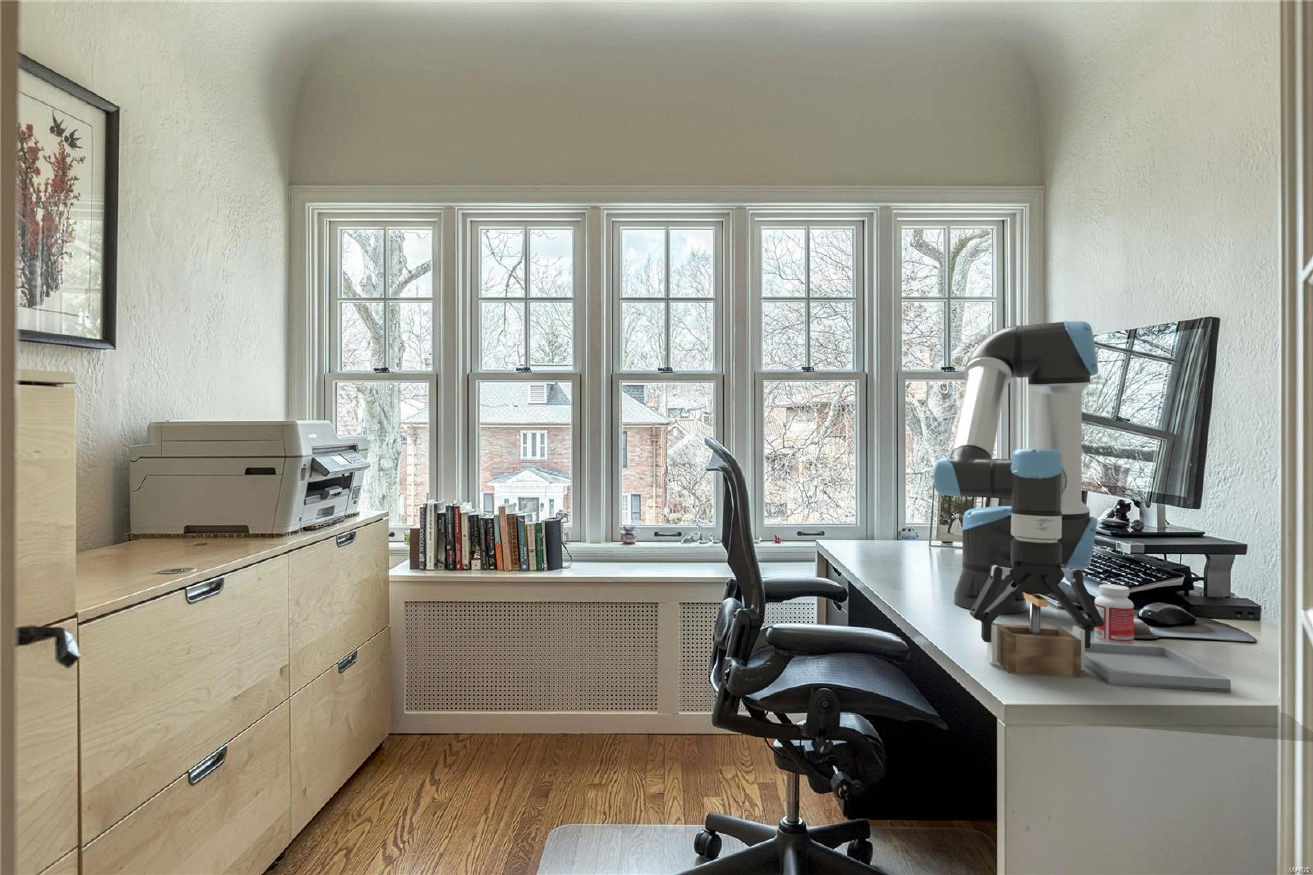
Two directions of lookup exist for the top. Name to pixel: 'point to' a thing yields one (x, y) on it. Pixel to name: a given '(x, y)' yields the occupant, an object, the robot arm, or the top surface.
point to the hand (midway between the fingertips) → (1034, 664)
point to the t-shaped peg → (1035, 612)
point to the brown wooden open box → (1038, 651)
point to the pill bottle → (1115, 615)
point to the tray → (1151, 668)
